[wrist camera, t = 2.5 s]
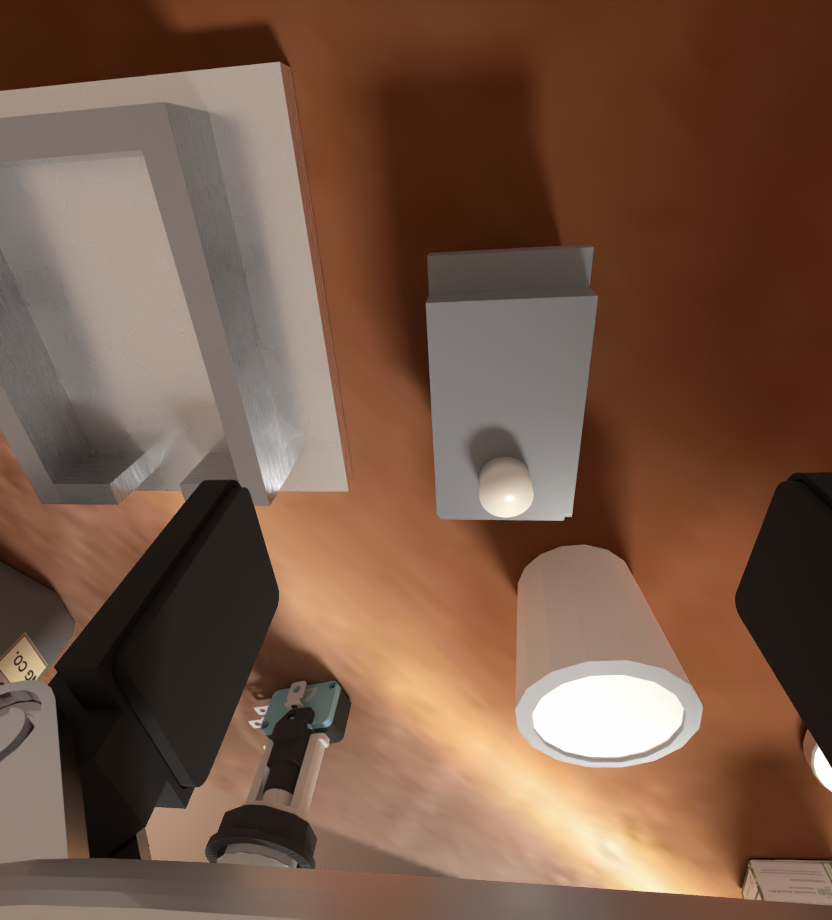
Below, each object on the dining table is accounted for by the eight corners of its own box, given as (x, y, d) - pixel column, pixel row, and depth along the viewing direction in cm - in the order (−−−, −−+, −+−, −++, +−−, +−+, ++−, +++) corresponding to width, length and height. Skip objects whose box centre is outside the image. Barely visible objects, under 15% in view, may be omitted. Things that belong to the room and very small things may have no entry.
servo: (567, 229, 17) (613, 260, 11) (548, 457, 21) (574, 561, 16) (437, 236, 17) (419, 270, 12) (446, 458, 22) (436, 558, 16)
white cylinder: (498, 628, 27) (505, 761, 21) (513, 528, 23) (527, 654, 17) (628, 640, 26) (674, 780, 20) (664, 540, 23) (732, 673, 17)
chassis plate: (290, 67, 15) (245, 42, 12) (353, 479, 23) (334, 526, 20) (-130, 110, 17) (-260, 98, 14) (58, 479, 24) (0, 522, 21)
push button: (278, 725, 34) (212, 915, 25) (238, 676, 31) (149, 867, 23) (366, 712, 32) (326, 912, 23) (330, 660, 30) (271, 860, 21)
